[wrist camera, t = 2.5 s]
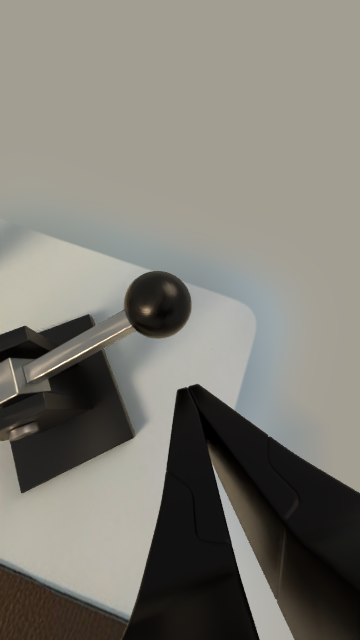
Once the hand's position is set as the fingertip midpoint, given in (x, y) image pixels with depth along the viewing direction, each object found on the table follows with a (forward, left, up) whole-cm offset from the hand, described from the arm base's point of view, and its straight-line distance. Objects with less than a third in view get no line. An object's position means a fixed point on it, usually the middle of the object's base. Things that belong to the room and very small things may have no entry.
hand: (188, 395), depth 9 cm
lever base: (+5, +9, -14) cm, 17 cm away
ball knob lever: (+5, +3, -6) cm, 8 cm away
